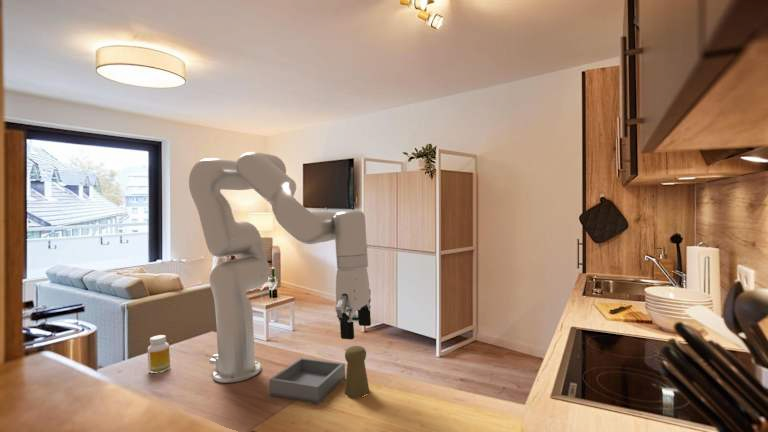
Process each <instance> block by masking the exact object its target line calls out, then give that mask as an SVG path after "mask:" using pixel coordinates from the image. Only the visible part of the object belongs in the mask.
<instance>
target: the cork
mask: <svg viewBox="0 0 768 432" xmlns="http://www.w3.org/2000/svg"><path fill="white" fill-rule="evenodd" d="M344 358H345V361H346V362H347V363H346V365H347V366H346V372H345V386H344V387H345V388H344V396H346V395H347V396H348V397H347V396H346V397H347V398H349V397H350V399H359V398H358V397H362V396H364V395H366V394H368V393H369V394H370V386H369V381H368V373H367V370H366V363H365V360H366V359H367V351H366V349H365V348H364V347H363V346H360V345H353V346H349V347H347V349H346V350H345V353H344ZM369 394H368V395H369ZM366 396H367V395H366ZM362 398H363V397H362Z"/></svg>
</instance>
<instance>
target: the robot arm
mask: <svg viewBox="0 0 768 432" xmlns="http://www.w3.org/2000/svg"><path fill="white" fill-rule="evenodd" d="M188 187H189V192H190V196H191V197H192V200H193V203H194V204H195V207H196V210H197V212H198V216H199V222H200V225H201V228H202V232H203V236H204V240H205V243H206V244H205V245H206V248H207V250H208V251H209V254H210V255H212V256H214V257H216V258H224V257H229V256H236V255H237V258H235V259H230V260H226V261H224V262H220V263H218V264H217V265H216V266H214V268H213V269H212V270H211V273H210V274H209V285H210V289H211V292H212V296H213V300H214V302H213V303H214V309H215V322H216V324H215V325H216V339H217V340H216V341H217V344H216V346H217V353H214V354H213V356H212V358H210V360H209V364H210V365H215V369H214V370H213V372H212V379H213V380H214V381H215V382H217V383H225V384H226V383H227V384H228V383H229V384H231V383H238V382H242V381H246V380H248V379H250V378H251V379H252V378H253V377H254V376H256V375H258V374H259V373H260V372H261V370H262V364H261V362H260V361H257V360H256V356H255V353H256V352H255V336H254V315H253V306H252V303H251V301H250V299H249V297H248V295H247V293H246V292H248V291H252V290H254V289H257V288H260V287H262V286H263V285H265V284H266V283H267V281H268V279H269V277H270V267H269V266H270V265H269V262H268V259H267V255H266V251H265V247H264V243H263V239H262V237H261V234H260V232H259V230H258V228H257V227H256V226H255V225H254V224H253V223H250V222H248V221H236V220H235V218H234V214H233V212H232V211H233V210H232V207H231V204H230V203H229V200H227V199H226V197H225V196H224V195H223V194H222V193H221V190H228V191H229V190H231V191H245V190H253V191H255V192H256V193H257V194H259V195H260V196H261V197H262V198H263V199H264V200H266V201H267V203H269V204H270V205H271V210H272V213H273V216H274V218H275V220H276V221H277V223H278V224H279V225H280V227H282V228H283V229H284V230H285V231H286V232H287V233H288V234H290V236H292V237H293V238H294V239H296V240H297V241H298V242H300V243H302V244H305V245H314V244H315V245H316V244H319V243H325V242H330V241H335V242H334V243H335V256H336V257H335V258H336V269H337V270H336V276H335V309H334V310H335V312H336V317H337V318H338V323H339V326H340V329H339V330H340V338H341V339H342V340H350V341H351V340H353V339H355V328H354V321H353V316H354V312H357V314H358V315H357V317H358V318H357V319H358V326H361V327H362V326H364V327H370V326H371V325H372V321H371V319H372V316H371V302H372V301H371V300H372V299H371V295H372V293H371V292H372V290H371V288H370V280H369V273H368V272H369V271H368V268H369V258H368V256H369V255H368V242H367V241H368V240H367V228H366V227H367V225H366V215H365V213H364V212H363V211H361V210H343V211H337V212H336V211H313V212H312V211H310V210H308V209H307V208H306V207H305V206H304V205H302V204H301V203H300V202H299V201H298V200H297V199H296V198H295V197H294V196H295V195H296V191H297V183H296V182H295V180H294V179H293V178H291V177H290V176H289V175H288V174H287V167H286V164H285V163H284V161H283V160H282V159H281V158H280V157H278V156H277V155H274V154H270V153H269V154H268V153H263V152H257V151H249V152H246V153H243V154H242V155H241V156H239V157H238V159H237V160H232V159H225V158H219V157H218V158H217V157H215V158H214V157H210V158H203V159H201V160H199V161H196V163H194V165H193V167H191V170H190V173H189V177H188ZM347 313H348V314H347Z"/></svg>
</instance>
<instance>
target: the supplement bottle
mask: <svg viewBox="0 0 768 432" xmlns="http://www.w3.org/2000/svg"><path fill="white" fill-rule="evenodd" d="M149 343H150V345H149V346H148V347H147V362H148V363H147V364H148V365H147V366H148V371H149V370H150V371H153V372H161V371H164V370H166V369H168V368H169V367H170V368H171V357H170V356H171V355H170V354H171V353H170V344H169V342H167V336H166V335H164V334H158V335H154V336H151V337H150V338H149ZM170 368H169V369H170ZM169 369H168V370H169Z"/></svg>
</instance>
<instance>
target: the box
mask: <svg viewBox="0 0 768 432" xmlns="http://www.w3.org/2000/svg"><path fill="white" fill-rule="evenodd" d="M345 367H346V365H345V363H344V362H338V361H329V360H323V359H322V360H321V359H314V358H306V357H299V358H298V359H297V360H295V361H293V362H292V363H291V364H290V365H288V366H287V367H285V368H284V369H282V370H281V371H280V372H278V373H276V374H275V375H274V376H272V377H271V378H269V379H268V380H269V395H270V396H272V397H277V398H282V399H286V400H287V399H288V400H293V401H299V402H306V403H309V402H310V403H311V404H316V405H318V404H320V403H321V402H322V401H324V399H325V398H326V397H328V396H329V394H331V393H332V392H333V391H334V390H335V389H336V388H337V387H338V386H339V385H340V384H341V383H342V382H343V381H344V380H346V368H345ZM342 380H343V381H342ZM341 381H342V382H341ZM340 382H341V383H340ZM339 383H340V384H339ZM338 384H339V385H338ZM337 385H338V386H337ZM336 386H337V387H336ZM335 387H336V388H335ZM334 388H335V389H334ZM333 389H334V390H333ZM332 390H333V391H332ZM331 391H332V392H331Z"/></svg>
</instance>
